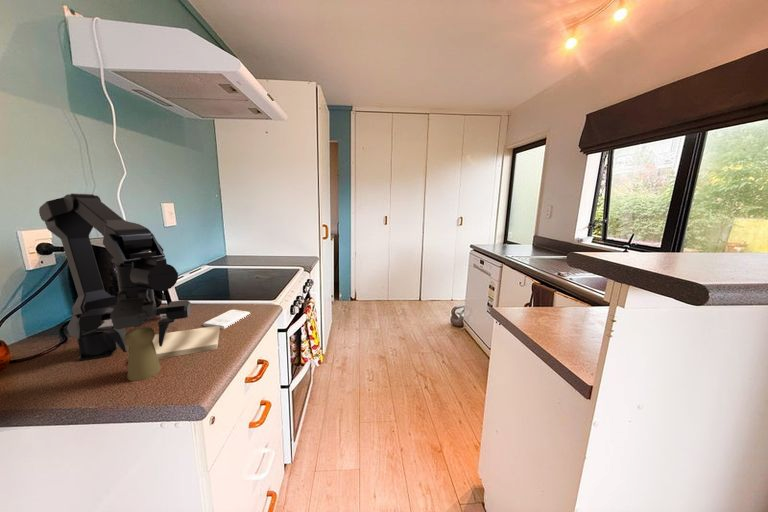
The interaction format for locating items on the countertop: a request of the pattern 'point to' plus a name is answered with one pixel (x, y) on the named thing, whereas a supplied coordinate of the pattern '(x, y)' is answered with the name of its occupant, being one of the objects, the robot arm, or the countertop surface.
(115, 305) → the robot arm
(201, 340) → the birch board
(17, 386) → the countertop surface
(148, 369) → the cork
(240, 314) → the external hard drive
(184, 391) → the countertop surface
